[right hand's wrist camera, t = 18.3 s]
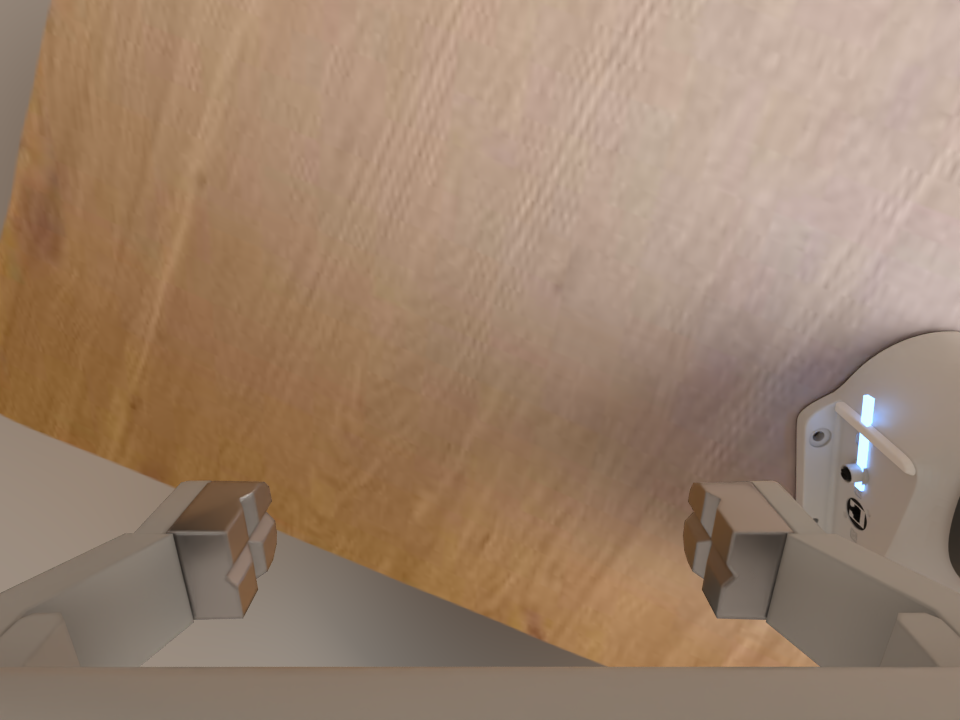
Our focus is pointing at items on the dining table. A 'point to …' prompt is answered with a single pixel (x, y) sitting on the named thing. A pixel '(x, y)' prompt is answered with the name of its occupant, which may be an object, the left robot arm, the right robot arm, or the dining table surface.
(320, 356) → the dining table surface
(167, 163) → the dining table surface
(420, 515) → the dining table surface
